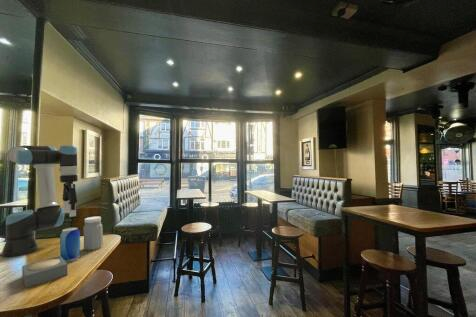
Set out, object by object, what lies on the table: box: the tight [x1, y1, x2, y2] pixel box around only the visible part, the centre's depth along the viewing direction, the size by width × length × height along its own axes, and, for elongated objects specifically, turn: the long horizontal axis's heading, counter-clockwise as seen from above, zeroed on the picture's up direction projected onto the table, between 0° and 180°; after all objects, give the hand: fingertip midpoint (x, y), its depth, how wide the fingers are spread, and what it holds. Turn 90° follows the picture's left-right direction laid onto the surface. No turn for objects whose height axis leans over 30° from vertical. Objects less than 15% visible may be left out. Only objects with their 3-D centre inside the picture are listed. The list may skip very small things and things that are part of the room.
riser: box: [21, 255, 68, 289], centre depth 103 cm, size 14×14×5 cm
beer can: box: [59, 226, 81, 263], centre depth 121 cm, size 8×8×16 cm
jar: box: [82, 215, 104, 252], centre depth 136 cm, size 10×10×18 cm
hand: (69, 214), depth 121 cm, fingers open, 13 cm apart
